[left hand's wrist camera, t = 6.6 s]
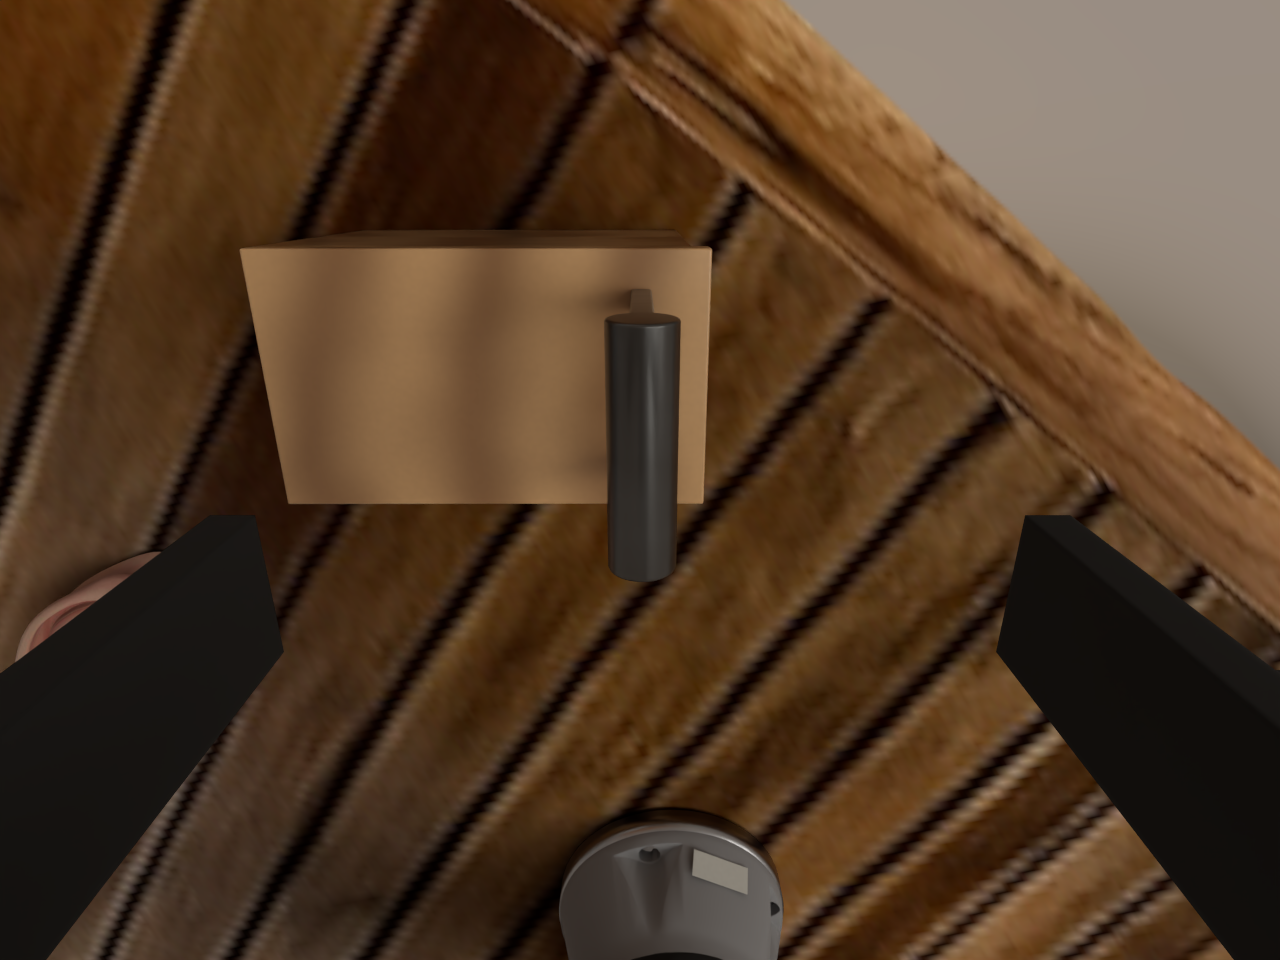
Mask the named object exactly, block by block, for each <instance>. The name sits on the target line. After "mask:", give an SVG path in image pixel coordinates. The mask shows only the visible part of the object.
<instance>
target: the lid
mask: <svg viewBox="0 0 1280 960" xmlns="http://www.w3.org/2000/svg"><path fill="white" fill-rule="evenodd" d="M240 255H241V261H242V266H243V271H244V276H245V281H246V286H247V292H248V297H249V302H250V307H251V312H252V318H253V323H254V328H255V333H256V338H257V343H258V349H259V354H260V359H261V364H262V369H263V375H264V380H265V385H266V390H267V395H268V400H269V406H270V411H271V416H272V421H273V426H274V432H275V437H276V442H277V447H278V452H279V457H280V463H281V468H282V473H283V478H284V483H285V489H286V494H287V499H288V503H289V504H607V519H608V566H609V569H610V570H611V572H612V573H613V574H614V575H616V576H618V577H620V578H622V579H625V580H629V581H636V582H648V581H655V580H659V579H662V578H665V577H667V576H669V575H670V574H671V573H672V572H673V571H674V569H675V567H676V538H677V504H701V503H703V499H704V470H705V441H706V412H707V383H708V354H709V325H710V296H711V267H712V249H711V248H710V247H708V246H429V247H247V248H241V249H240Z"/></svg>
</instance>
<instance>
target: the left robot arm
mask: <svg viewBox="0 0 1280 960" xmlns="http://www.w3.org/2000/svg"><path fill="white" fill-rule="evenodd" d="M283 652H284V651H283V646H282V641H281V636H280V632H279V627H278V622H277V618H276V613H275V608H274V604H273V599H272V594H271V589H270V585H269V580H268V575H267V571H266V566H265V561H264V556H263V552H262V547H261V542H260V538H259V533H258V528H257V524H256V519H255V515H210V516H208V517H207V518H206V519H204V520H203V521H202V522H200V523H199V524H198V525H196V526H195V527H194V528H192V529H191V530H190V531H188V532H187V533H186V534H185V535H183V536H182V537H181V538H179V539H178V540H177V541H175V542H174V543H173V544H171V545H170V546H169V547H167V548H166V549H165V550H163V551H162V552H161V553H159V554H158V555H157V556H155V557H154V558H153V559H151V560H150V561H149V562H147V563H146V564H145V565H143V566H142V567H141V568H139V569H138V570H137V571H136V572H134V573H133V574H132V575H130V576H129V577H128V578H126V579H125V580H124V581H122V582H121V583H120V584H118V585H117V586H116V587H114V588H113V589H112V590H110V591H109V592H108V593H106V594H105V595H104V596H102V597H101V598H100V599H98V600H97V601H96V602H94V603H93V604H92V605H91V606H89V607H88V608H87V609H85V610H84V611H83V612H81V613H80V614H79V615H77V616H76V617H75V618H73V619H72V620H71V621H69V622H68V623H67V624H65V625H64V626H63V627H61V628H60V629H59V630H57V631H56V632H55V633H53V634H52V635H51V636H49V637H48V638H47V639H45V640H44V641H43V642H42V643H40V644H39V645H38V646H36V647H35V648H34V649H32V650H31V651H30V652H28V653H27V654H26V655H24V656H23V657H22V658H20V659H19V660H18V661H16V662H15V663H14V664H12V665H11V666H10V667H8V668H7V669H6V670H4V671H3V672H2V673H0V960H46V959H47V958H48V957H49V955H50V954H51V953H52V951H53V950H54V949H55V948H56V946H57V945H58V944H59V942H60V941H61V940H62V938H63V937H64V936H65V935H66V933H67V932H68V931H69V929H70V928H71V927H72V926H73V924H74V923H75V922H76V920H77V919H78V918H79V916H80V915H81V914H82V913H83V911H84V910H85V909H86V907H87V906H88V905H89V904H90V902H91V901H92V900H93V898H94V897H95V896H96V894H97V893H98V892H99V891H100V889H101V888H102V887H103V885H104V884H105V883H106V882H107V880H108V879H109V878H110V876H111V875H112V874H113V872H114V871H115V870H116V869H117V867H118V866H119V865H120V863H121V862H122V861H123V859H124V858H125V857H126V856H127V854H128V853H129V852H130V850H131V849H132V848H133V847H134V845H135V844H136V843H137V841H138V840H139V839H140V837H141V836H142V835H143V834H144V832H145V831H146V830H147V828H148V827H149V826H150V825H151V823H152V822H153V821H154V819H155V818H156V817H157V815H158V814H159V813H160V812H161V810H162V809H163V808H164V806H165V805H166V804H167V802H168V801H169V800H170V799H171V797H172V796H173V795H174V793H175V792H176V791H177V790H178V788H179V787H180V786H181V784H182V783H183V782H184V780H185V779H186V778H187V777H188V775H189V774H190V773H191V771H192V770H193V769H194V768H195V766H196V765H197V764H198V762H199V761H200V760H201V758H202V757H203V756H204V755H205V753H206V752H207V751H208V749H209V748H210V747H211V745H212V744H213V743H214V742H215V740H216V739H217V738H218V736H219V735H220V734H221V733H222V731H223V730H224V729H225V727H226V726H227V725H228V723H229V722H230V721H231V720H232V718H233V717H234V716H235V714H236V713H237V712H238V711H239V709H240V708H241V707H242V705H243V704H244V703H245V701H246V700H247V699H248V698H249V696H250V695H251V694H252V692H253V691H254V690H255V689H256V687H257V686H258V685H259V683H260V682H261V681H262V679H263V678H264V677H265V676H266V674H267V673H268V672H269V670H270V669H271V668H272V666H273V665H274V664H275V663H276V661H277V660H278V659H279V657H280V656H281V655H282V654H283ZM996 652H997V654H998V655H999V656H1000V657H1001V659H1002V660H1003V661H1004V663H1005V664H1006V665H1007V666H1008V668H1009V669H1010V670H1011V672H1012V673H1013V674H1014V676H1015V677H1016V678H1017V679H1018V681H1019V682H1020V683H1021V685H1022V686H1023V687H1024V689H1025V690H1026V691H1027V692H1028V694H1029V695H1030V696H1031V698H1032V699H1033V700H1034V701H1035V703H1036V704H1037V705H1038V707H1039V708H1040V709H1041V711H1042V712H1043V713H1044V714H1045V716H1046V717H1047V718H1048V720H1049V721H1050V722H1051V723H1052V725H1053V726H1054V727H1055V729H1056V730H1057V731H1058V733H1059V734H1060V735H1061V736H1062V738H1063V739H1064V740H1065V742H1066V743H1067V744H1068V745H1069V747H1070V748H1071V749H1072V751H1073V752H1074V753H1075V755H1076V756H1077V757H1078V758H1079V760H1080V761H1081V762H1082V764H1083V765H1084V766H1085V768H1086V769H1087V770H1088V771H1089V773H1090V774H1091V775H1092V777H1093V778H1094V779H1095V780H1096V782H1097V783H1098V784H1099V786H1100V787H1101V788H1102V790H1103V791H1104V792H1105V793H1106V795H1107V796H1108V797H1109V799H1110V800H1111V801H1112V802H1113V804H1114V805H1115V806H1116V808H1117V809H1118V810H1119V812H1120V813H1121V814H1122V815H1123V817H1124V818H1125V819H1126V821H1127V822H1128V823H1129V825H1130V826H1131V827H1132V828H1133V830H1134V831H1135V832H1136V834H1137V835H1138V836H1139V837H1140V839H1141V840H1142V841H1143V843H1144V844H1145V845H1146V847H1147V848H1148V849H1149V850H1150V852H1151V853H1152V854H1153V856H1154V857H1155V858H1156V859H1157V861H1158V862H1159V863H1160V865H1161V866H1162V867H1163V869H1164V870H1165V871H1166V872H1167V874H1168V875H1169V876H1170V878H1171V879H1172V880H1173V882H1174V883H1175V884H1176V885H1177V887H1178V888H1179V889H1180V891H1181V892H1182V893H1183V894H1184V896H1185V897H1186V898H1187V900H1188V901H1189V902H1190V904H1191V905H1192V906H1193V907H1194V909H1195V910H1196V911H1197V913H1198V914H1199V915H1200V916H1201V918H1202V919H1203V920H1204V922H1205V923H1206V924H1207V926H1208V927H1209V928H1210V929H1211V931H1212V932H1213V933H1214V935H1215V936H1216V937H1217V938H1218V940H1219V941H1220V942H1221V944H1222V945H1223V946H1224V948H1225V949H1226V950H1227V951H1228V953H1229V954H1230V955H1231V957H1232V958H1233V959H1234V960H1280V670H1274V669H1273V668H1272V667H1270V666H1269V665H1268V664H1266V663H1265V662H1264V661H1262V660H1261V659H1260V658H1258V657H1257V656H1256V655H1254V654H1253V653H1252V652H1250V651H1249V650H1248V649H1246V648H1245V647H1244V646H1242V645H1241V644H1240V643H1238V642H1237V641H1236V640H1235V639H1233V638H1232V637H1231V636H1229V635H1228V634H1227V633H1225V632H1224V631H1223V630H1221V629H1220V628H1219V627H1217V626H1216V625H1215V624H1213V623H1212V622H1211V621H1209V620H1208V619H1207V618H1205V617H1204V616H1203V615H1201V614H1200V613H1199V612H1197V611H1196V610H1195V609H1193V608H1192V607H1191V606H1189V605H1188V604H1187V603H1186V602H1184V601H1183V600H1182V599H1180V598H1179V597H1178V596H1176V595H1175V594H1174V593H1172V592H1171V591H1170V590H1168V589H1167V588H1166V587H1164V586H1163V585H1162V584H1160V583H1159V582H1158V581H1156V580H1155V579H1154V578H1152V577H1151V576H1150V575H1148V574H1147V573H1146V572H1144V571H1143V570H1142V569H1141V568H1139V567H1138V566H1137V565H1135V564H1134V563H1133V562H1131V561H1130V560H1129V559H1127V558H1126V557H1125V556H1123V555H1122V554H1121V553H1119V552H1118V551H1117V550H1115V549H1114V548H1113V547H1111V546H1110V545H1109V544H1107V543H1106V542H1105V541H1103V540H1102V539H1101V538H1099V537H1098V536H1097V535H1095V534H1094V533H1093V532H1092V531H1090V530H1089V529H1088V528H1086V527H1085V526H1084V525H1082V524H1081V523H1080V522H1078V521H1077V520H1076V519H1074V518H1073V517H1072V516H1070V515H1025V519H1024V524H1023V528H1022V533H1021V538H1020V542H1019V547H1018V552H1017V556H1016V561H1015V566H1014V571H1013V575H1012V580H1011V585H1010V589H1009V594H1008V599H1007V604H1006V608H1005V613H1004V618H1003V622H1002V627H1001V632H1000V636H999V641H998V646H997V651H996ZM559 918H560V923H561V929H562V933H563V936H564V939H565V942H566V948H567V953H568V958H569V960H777V955H778V948H779V942H780V934H781V928H782V919H783V899H782V893H781V888H780V883H779V878H778V874H777V870H776V867H775V865H774V862H773V860H772V858H771V857H770V855H769V853H768V852H767V851H766V849H765V848H764V847H763V845H762V844H761V843H760V842H759V841H758V840H757V839H756V838H754V837H753V836H752V835H751V834H749V833H748V832H747V831H745V830H744V829H742V828H741V827H739V826H737V825H735V824H733V823H731V822H729V821H727V820H724V819H722V818H719V817H716V816H713V815H709V814H705V813H701V812H695V811H687V810H656V811H649V812H643V813H639V814H634V815H631V816H628V817H624V818H622V819H619V820H617V821H614V822H612V823H610V824H608V825H606V826H604V827H603V828H601V829H599V830H598V831H596V832H595V833H594V834H592V835H591V836H590V837H588V838H587V839H586V840H585V841H584V842H583V843H582V844H581V845H580V846H579V847H578V848H577V850H576V851H575V852H574V854H573V855H572V856H571V858H570V860H569V862H568V864H567V866H566V869H565V871H564V875H563V879H562V887H561V896H560V905H559Z"/></svg>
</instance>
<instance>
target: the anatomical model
mask: <svg viewBox="0 0 1280 960" xmlns="http://www.w3.org/2000/svg"><path fill="white" fill-rule="evenodd" d="M159 553H161V552H150V553H146V554H142V555H138V556H135V557H133V558H130V559H127V560H125V561H123V562H120V563H118V564H116V565H114V566H111V567H109V568H107V569H105V570H103V571H101V572H99V573H97V574H96V575H94V576H92V577H91V578H89V579H88V580H86V581H84V582H83V583H82V584H81V585H79V586H78V587H77V588H76V589H74V590H73V592H72V593H70V594H68V595H66V596H64V597H62V598H60V599H59V600H57V601H55V602H53V603H52V604H50V605H49V606H47V607H46V608H45V609H43V610H42V611H41V612H40V613H39V614H37V615H36V616H35V617H34V619H33V620H32V621H31V622H30V623H29V625H28V626H27V628H26V630H25V631H24V633H23V635H22V638H21V640H20V643H19V646H18V650H17V654H16V659H15V662H16V661H18V660H19V659H20V658H22V657H23V656H24V655H26V654H27V653H28V652H30V651H31V650H32V649H34V648H35V647H36V646H38V645H39V644H40V643H42V642H43V641H44V640H45V639H47V638H48V637H49V636H51V635H52V634H53V633H55V632H56V631H57V630H59V629H60V628H61V627H63V626H64V625H65V624H67V623H68V622H69V621H71V620H72V619H73V618H75V617H76V616H77V615H79V614H80V613H81V612H83V611H84V610H85V609H87V608H88V607H89V606H91V605H92V604H93V603H94V602H96V601H97V600H98V599H100V598H101V597H102V596H104V595H105V594H106V593H108V592H109V591H110V590H112V589H113V588H114V587H116V586H117V585H118V584H120V583H121V582H122V581H124V580H125V579H126V578H128V577H129V576H130V575H132V574H133V573H134V572H136V571H137V570H138V569H139V568H141V567H142V566H143V565H145V564H146V563H147V562H149V561H150V560H151V559H153V558H154V557H155V556H157V555H158V554H159Z"/></svg>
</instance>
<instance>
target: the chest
mask: <svg viewBox="0 0 1280 960" xmlns="http://www.w3.org/2000/svg"><path fill="white" fill-rule="evenodd" d="M429 246H690V245H689V244H688V243H687V242H686V241H685V240H684V238H683V237H682V236H681V235H680V234H679V233H678V232H677V231H676V230H363V231H356V232H349V233H342V234H335V235H328V236H322V237H315V238H308V239H301V240H294V241H287V242H280V243H273V244H266V245H260V246H254V247H429Z"/></svg>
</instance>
